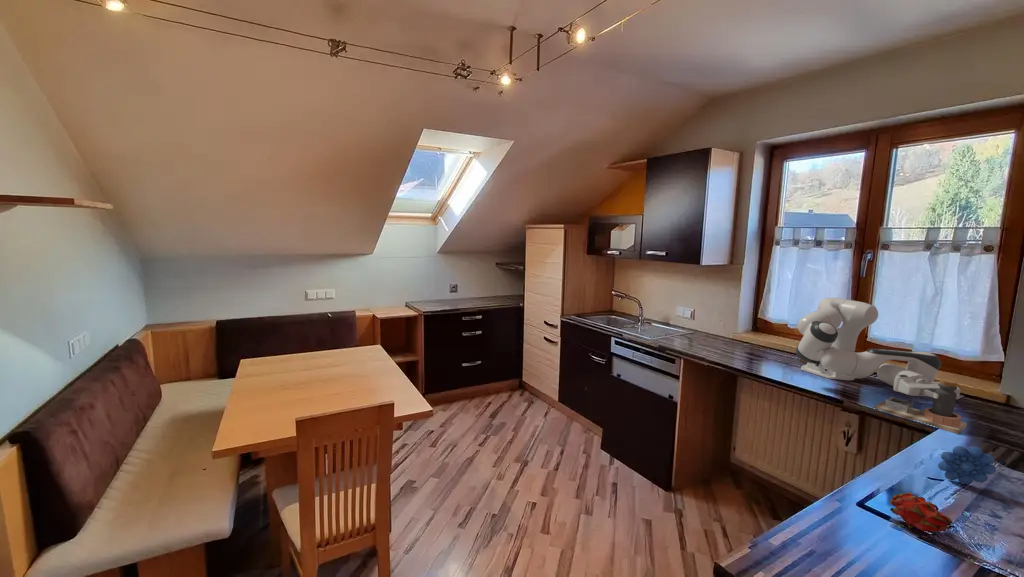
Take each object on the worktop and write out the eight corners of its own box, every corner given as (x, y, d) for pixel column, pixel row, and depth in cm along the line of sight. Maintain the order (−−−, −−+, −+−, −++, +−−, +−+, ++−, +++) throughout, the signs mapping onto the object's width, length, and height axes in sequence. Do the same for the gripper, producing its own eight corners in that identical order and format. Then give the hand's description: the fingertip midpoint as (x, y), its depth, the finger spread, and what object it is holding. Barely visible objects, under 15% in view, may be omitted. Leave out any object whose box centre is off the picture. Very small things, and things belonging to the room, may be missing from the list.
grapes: (987, 484, 129) (995, 446, 128) (993, 495, 124) (1002, 455, 122) (933, 470, 136) (940, 433, 134) (937, 480, 131) (944, 442, 129)
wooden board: (874, 409, 183) (874, 405, 182) (884, 403, 189) (885, 400, 189) (958, 434, 162) (958, 430, 162) (966, 426, 169) (967, 423, 169)
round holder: (920, 418, 172) (921, 410, 171) (927, 412, 177) (929, 405, 177) (955, 428, 163) (957, 420, 163) (962, 422, 169) (964, 415, 169)
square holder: (884, 406, 182) (885, 399, 181) (890, 403, 186) (891, 396, 185) (906, 413, 176) (907, 406, 176) (912, 409, 180) (913, 402, 180)
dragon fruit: (882, 517, 115) (943, 549, 107) (882, 511, 110) (947, 545, 101) (895, 487, 117) (957, 517, 108) (896, 480, 111) (962, 511, 102)
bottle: (954, 422, 166) (962, 384, 164) (933, 419, 169) (941, 381, 166) (947, 416, 172) (955, 379, 169) (927, 413, 174) (935, 376, 172)
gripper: (938, 391, 182) (973, 405, 169) (889, 390, 182) (920, 404, 168) (941, 377, 181) (976, 390, 168) (891, 375, 181) (923, 388, 167)
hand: (948, 397), depth 168 cm, fingers closed on bottle, 5 cm apart
